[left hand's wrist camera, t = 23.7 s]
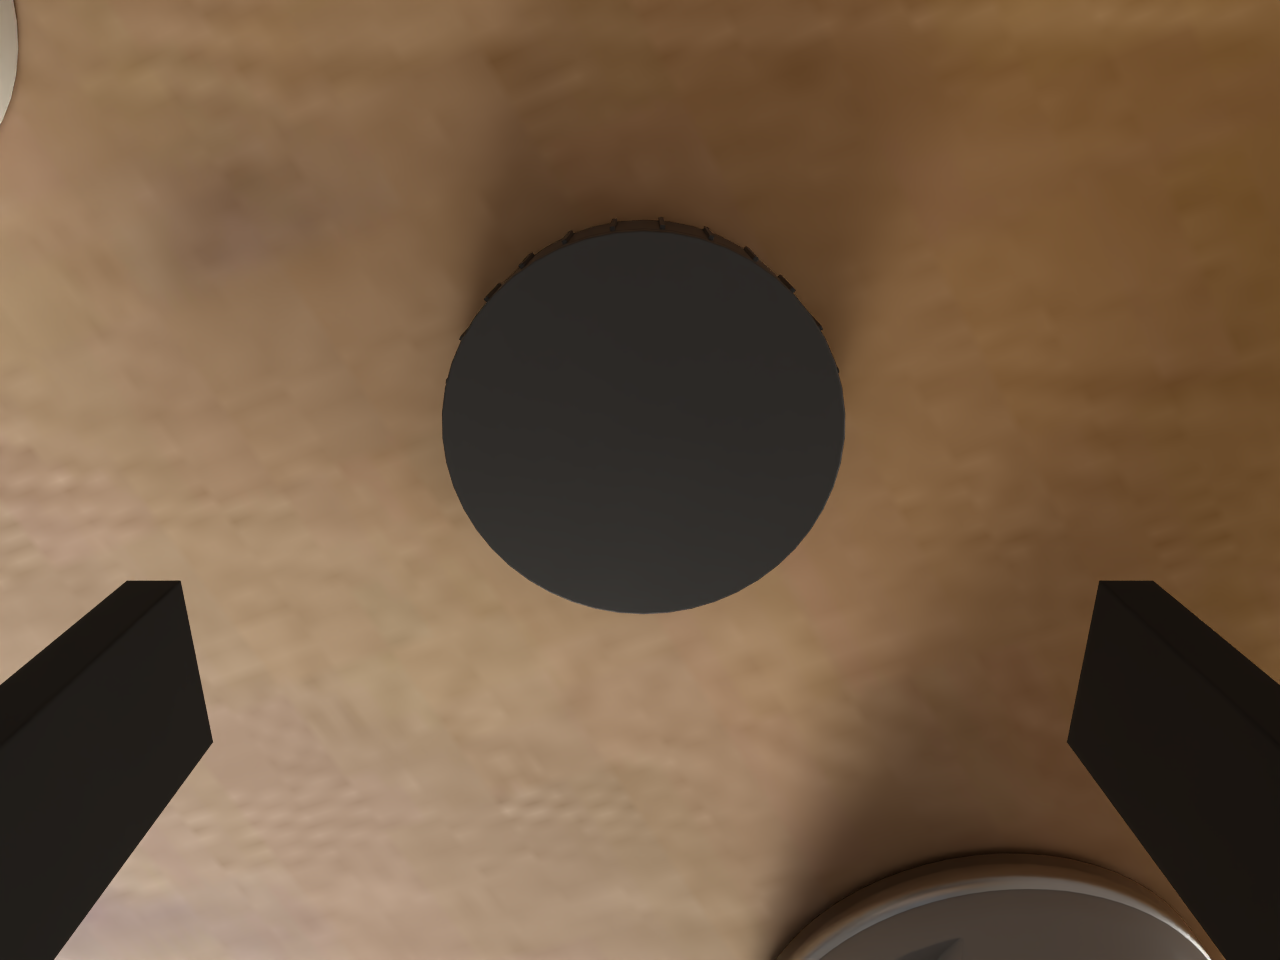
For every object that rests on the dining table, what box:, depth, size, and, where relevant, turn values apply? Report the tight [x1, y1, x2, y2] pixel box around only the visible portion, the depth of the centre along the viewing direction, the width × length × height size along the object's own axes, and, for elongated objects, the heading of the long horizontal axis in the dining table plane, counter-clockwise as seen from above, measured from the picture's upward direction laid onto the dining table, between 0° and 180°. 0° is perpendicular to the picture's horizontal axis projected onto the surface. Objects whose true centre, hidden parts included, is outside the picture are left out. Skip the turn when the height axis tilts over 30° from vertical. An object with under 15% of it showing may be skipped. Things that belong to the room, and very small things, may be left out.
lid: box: [442, 217, 845, 614], centre depth 21 cm, size 9×9×2 cm
